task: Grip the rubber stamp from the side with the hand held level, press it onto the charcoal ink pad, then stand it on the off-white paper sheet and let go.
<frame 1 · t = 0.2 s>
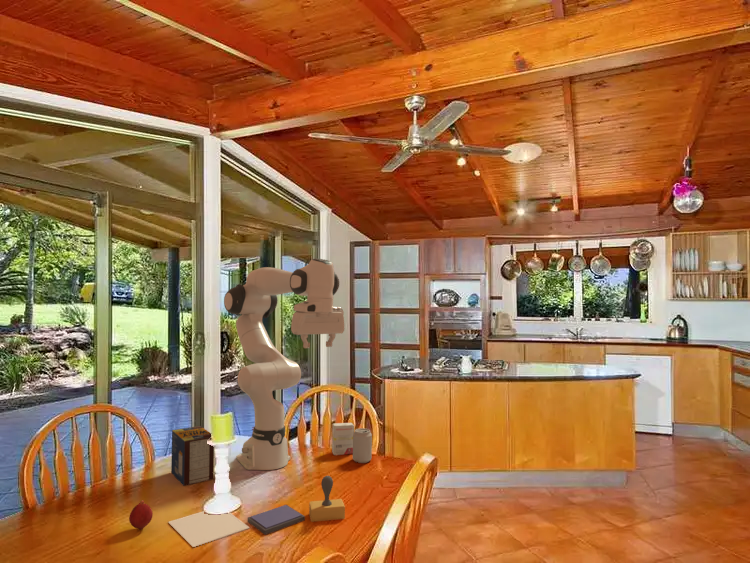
hand: (317, 347, 166), 48 cm above the table, tool pointing down, fingers open, 8 cm apart
paper: (208, 525, 139), on the table
rubber stamp: (326, 517, 146), on the table
can: (361, 461, 193), on the table
protein box: (191, 476, 175), on the table
ink pad: (276, 520, 142), on the table
onion: (140, 530, 136), on the table
ink box: (342, 453, 202), on the table
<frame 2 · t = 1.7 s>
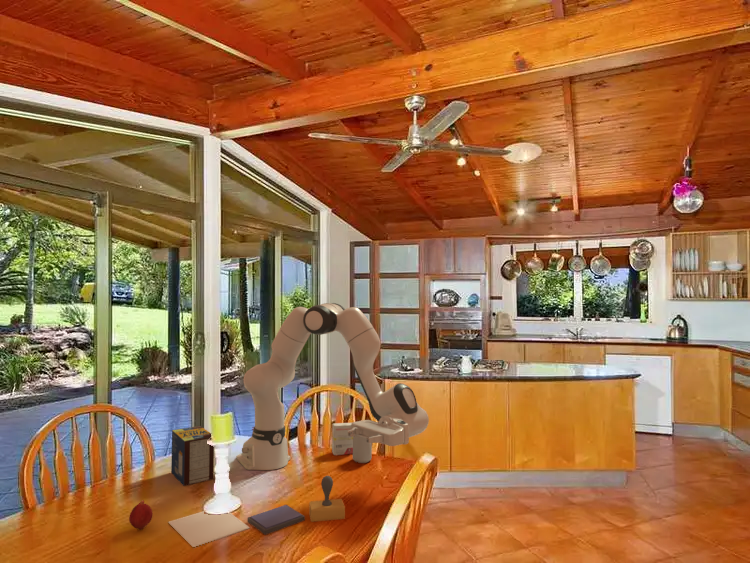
hand: (358, 437, 154), 21 cm above the table, tool horizontal, fingers open, 8 cm apart
nothing on the table moved.
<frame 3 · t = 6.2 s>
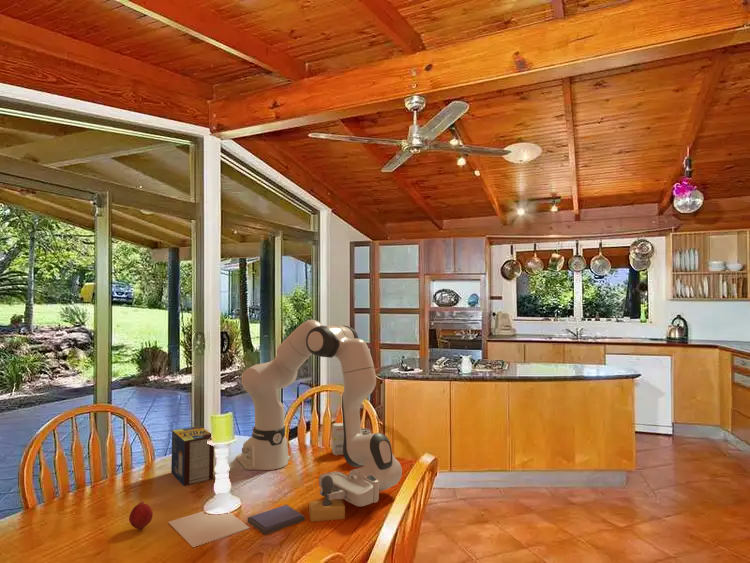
hand: (324, 494, 145), 7 cm above the table, tool horizontal, fingers closed on rubber stamp, 2 cm apart
rubber stamp: (326, 517, 146), on the table, touching gripper
everything else where it was.
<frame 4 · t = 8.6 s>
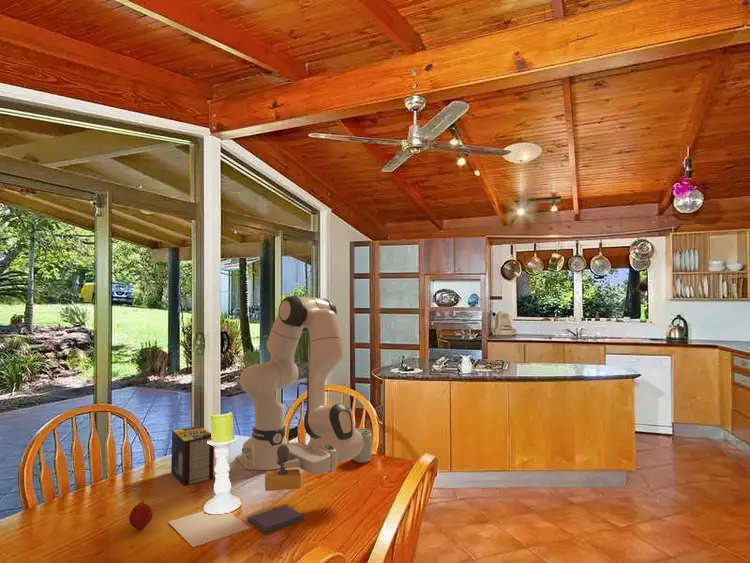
hand: (280, 463, 142), 17 cm above the table, tool horizontal, fingers closed on rubber stamp, 2 cm apart
rubber stamp: (282, 486, 143), point 10 cm above the table, touching gripper
everything else where it was.
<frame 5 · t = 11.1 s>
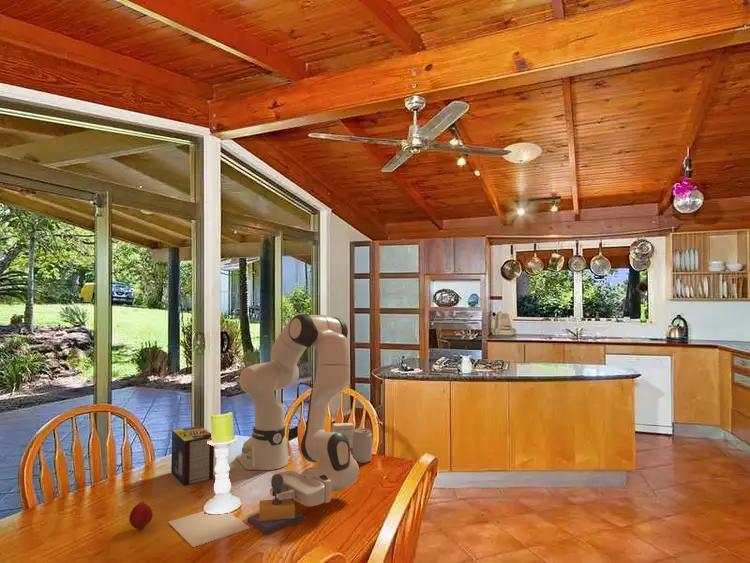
hand: (274, 494, 142), 8 cm above the table, tool horizontal, fingers closed on rubber stamp, 2 cm apart
rubber stamp: (276, 516, 142), point 1 cm above the table, touching gripper, ink pad
everything else where it was.
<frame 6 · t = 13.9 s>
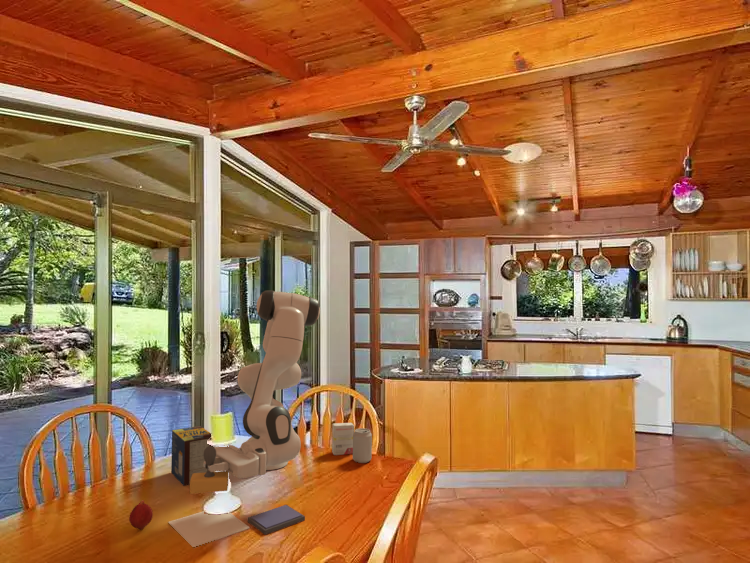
hand: (206, 466, 138), 17 cm above the table, tool horizontal, fingers closed on rubber stamp
rubber stamp: (209, 489, 139), point 10 cm above the table, touching gripper
everything else where it was.
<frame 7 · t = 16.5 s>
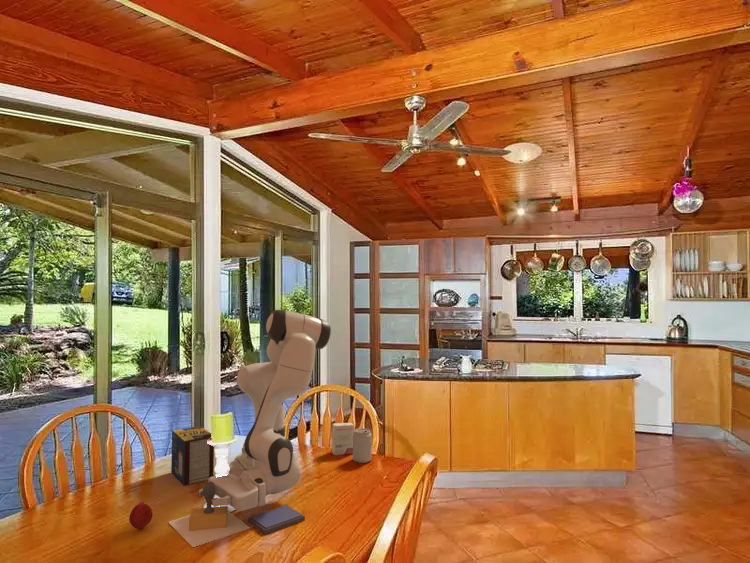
hand: (205, 498, 138), 8 cm above the table, tool horizontal, fingers open, 7 cm apart
rubber stamp: (208, 525, 139), resting on paper
everything else where it was.
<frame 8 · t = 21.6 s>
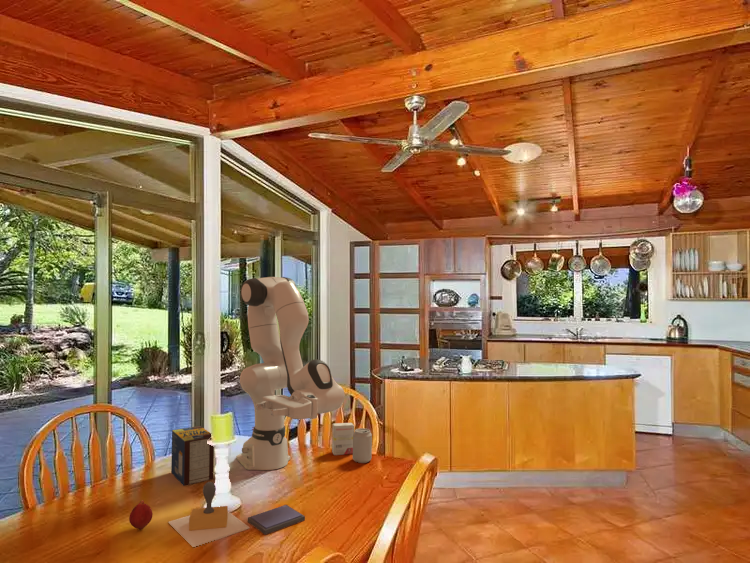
hand: (264, 410, 151), 30 cm above the table, tool horizontal, fingers open, 8 cm apart
nothing on the table moved.
at the end: rubber stamp inside the target area on the paper (0.1 cm from its centre), point 0.1 cm above the paper's base; rubber stamp tilted 0°; the gripper is holding nothing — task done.
